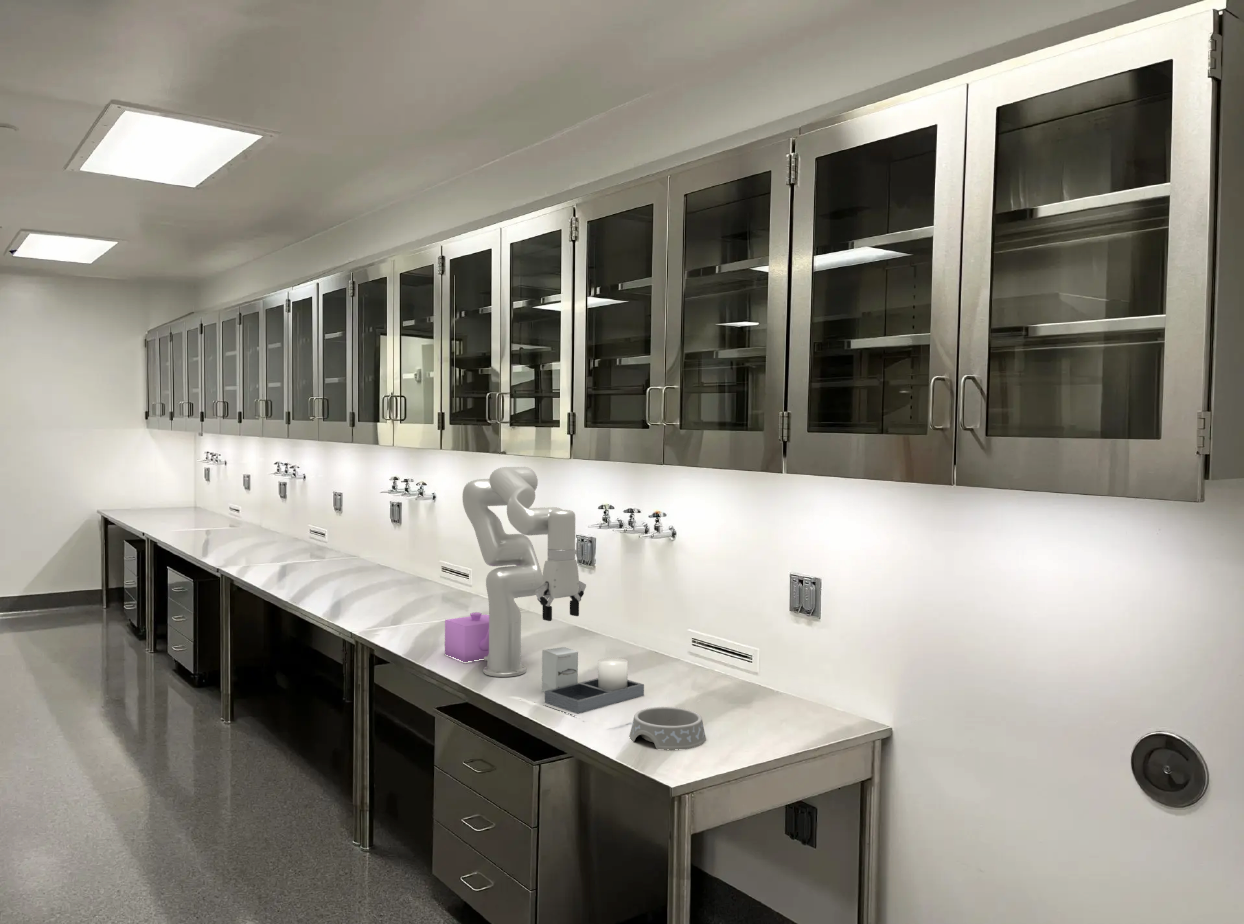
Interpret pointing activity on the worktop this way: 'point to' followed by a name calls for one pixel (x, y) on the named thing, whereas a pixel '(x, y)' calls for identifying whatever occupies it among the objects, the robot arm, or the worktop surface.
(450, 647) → the teapot
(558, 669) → the supplement box
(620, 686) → the white rounded cylinder
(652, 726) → the dog bowl
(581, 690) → the divided grey tray
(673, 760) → the worktop surface
